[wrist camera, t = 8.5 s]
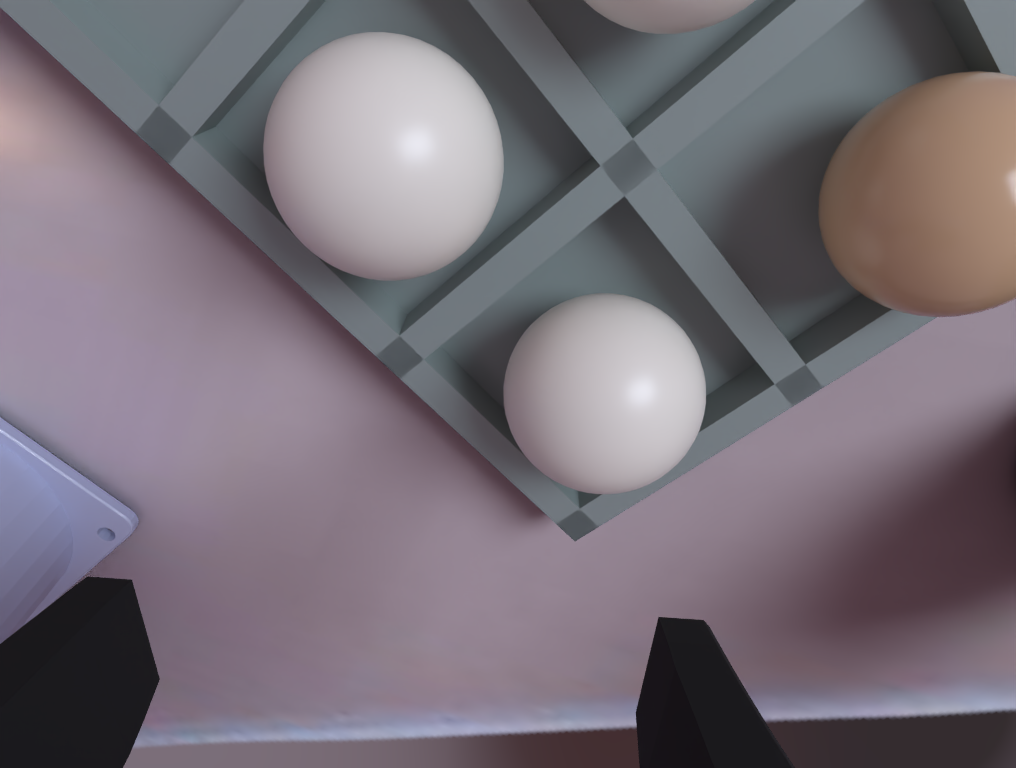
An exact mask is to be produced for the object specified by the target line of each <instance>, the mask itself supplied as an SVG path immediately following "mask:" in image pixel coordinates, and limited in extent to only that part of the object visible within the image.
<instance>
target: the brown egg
mask: <svg viewBox="0 0 1016 768" xmlns="http://www.w3.org/2000/svg"><path fill="white" fill-rule="evenodd" d="M818 218H819V227H820V232H821V236H822V240H823V243H824V246H825V249H826V251H827V253H828V255H829V258H830V259H831V261H832V263H833V264H834V266H835V267H836V269H837V270H838V272H839V273H840V274H841V275H842V276H843V277H844V279H845V280H846V281H847V282H848V283H849V284H850V285H851V286H852V287H853V288H855V289H856V290H857V291H859V292H860V293H861V294H863V295H864V296H866V297H867V298H869V299H870V300H872V301H874V302H876V303H878V304H880V305H882V306H885V307H887V308H890V309H893V310H896V311H899V312H903V313H907V314H912V315H917V316H928V317H953V316H961V315H967V314H973V313H978V312H982V311H985V310H988V309H992V308H995V307H998V306H1000V305H1003V304H1005V303H1007V302H1009V301H1012V300H1014V299H1016V76H1013V75H1008V74H1004V73H996V72H982V71H972V72H959V73H952V74H947V75H942V76H937V77H933V78H931V79H928V80H925V81H922V82H919V83H916V84H913V85H911V86H909V87H907V88H905V89H903V90H901V91H899V92H897V93H895V94H893V95H891V96H889V97H888V98H887V99H885V100H884V101H882V102H881V103H879V104H878V105H877V106H875V107H874V108H872V109H871V110H870V111H869V112H868V113H866V114H865V115H864V116H863V117H862V118H861V119H860V120H859V121H858V122H857V123H856V124H855V125H854V126H853V127H852V129H851V130H850V131H849V132H848V133H847V134H846V136H845V137H844V138H843V140H842V141H841V143H840V144H839V146H838V147H837V149H836V151H835V152H834V154H833V156H832V158H831V160H830V162H829V164H828V167H827V169H826V172H825V175H824V178H823V181H822V185H821V189H820V194H819V204H818Z"/></svg>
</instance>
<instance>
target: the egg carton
mask: <svg viewBox="0 0 1016 768" xmlns="http://www.w3.org/2000/svg"><path fill="white" fill-rule="evenodd" d="M0 8H1V9H3V10H4V11H5V12H6V13H7V14H8V15H9V16H10V17H11V18H12V19H13V20H14V21H15V22H17V23H18V24H19V25H20V26H21V27H22V28H23V29H24V30H25V31H26V32H27V33H28V34H29V35H31V36H32V37H33V38H34V39H35V40H36V41H37V42H38V43H39V44H40V45H41V46H42V47H43V48H45V49H46V50H47V51H48V52H49V53H50V54H51V55H52V56H53V57H54V58H55V59H56V60H57V61H59V62H60V63H61V64H62V65H63V66H64V67H65V68H66V69H67V70H68V71H69V72H70V73H71V74H72V75H74V76H75V77H76V78H77V79H78V80H79V81H80V82H81V83H82V84H83V85H84V86H85V87H86V88H88V89H89V90H90V91H91V92H92V93H93V94H94V95H95V96H96V97H97V98H98V99H99V100H100V101H102V102H103V103H104V104H105V105H106V106H107V107H108V108H109V109H110V110H111V111H112V112H113V113H114V114H116V115H117V116H118V117H119V118H120V119H121V120H122V121H123V122H124V123H125V124H126V125H127V126H128V127H130V128H131V129H132V130H133V131H134V132H135V133H136V134H137V135H138V136H139V137H140V138H141V139H142V140H144V141H145V142H146V143H147V144H148V145H149V146H150V147H151V148H152V149H153V150H154V151H155V152H156V153H158V154H159V155H160V156H161V157H162V158H163V159H164V160H165V161H166V162H167V163H168V164H169V165H170V166H172V167H173V168H174V169H175V170H176V171H177V172H178V173H179V174H180V175H181V176H182V177H183V178H184V179H186V180H187V181H188V182H189V183H190V184H191V185H192V186H193V187H194V188H195V189H196V190H197V191H198V192H199V193H201V194H202V195H203V196H204V197H205V198H206V199H207V200H208V201H209V202H210V203H211V204H212V205H213V206H215V207H216V208H217V209H218V210H219V211H220V212H221V213H222V214H223V215H224V216H225V217H226V218H227V219H229V220H230V221H231V222H232V223H233V224H234V225H235V226H236V227H237V228H238V229H239V230H240V231H241V232H243V233H244V234H245V235H246V236H247V237H248V238H249V239H250V240H251V241H252V242H253V243H254V244H255V245H257V246H258V247H259V248H260V249H261V250H262V251H263V252H264V253H265V254H266V255H267V256H268V257H269V258H271V259H272V260H273V261H274V262H275V263H276V264H277V265H278V266H279V267H280V268H281V269H282V270H283V271H285V272H286V273H287V274H288V275H289V276H290V277H291V278H292V279H293V280H294V281H295V282H296V283H297V284H299V285H300V286H301V287H302V288H303V289H304V290H305V291H306V292H307V293H308V294H309V295H310V296H311V297H312V298H314V299H315V300H316V301H317V302H318V303H319V304H320V305H321V306H322V307H323V308H324V309H325V310H326V311H328V312H329V313H330V314H331V315H332V316H333V317H334V318H335V319H336V320H337V321H338V322H339V323H340V324H342V325H343V326H344V327H345V328H346V329H347V330H348V331H349V332H350V333H351V334H352V335H353V336H354V337H356V338H357V339H358V340H359V341H360V342H361V343H362V344H363V345H364V346H365V347H366V348H367V349H368V350H370V351H371V352H372V353H373V354H374V355H375V356H376V357H377V358H378V359H379V360H380V361H381V362H382V363H384V364H385V365H386V366H387V367H388V368H389V369H390V370H391V371H392V372H393V373H394V374H395V375H396V376H398V377H399V378H400V379H401V380H402V381H403V382H404V383H405V384H406V385H407V386H408V387H409V388H410V389H412V390H413V391H414V392H415V393H416V394H417V395H418V396H419V397H420V398H421V399H422V400H423V401H424V402H425V403H427V404H428V405H429V406H430V407H431V408H432V409H433V410H434V411H435V412H436V413H437V414H438V415H439V416H441V417H442V418H443V419H444V420H445V421H446V422H447V423H448V424H449V425H450V426H451V427H452V428H453V429H455V430H456V431H457V432H458V433H459V434H460V435H461V436H462V437H463V438H464V439H465V440H466V441H467V442H469V443H470V444H471V445H472V446H473V447H474V448H475V449H476V450H477V451H478V452H479V453H480V454H481V455H483V456H484V457H485V458H486V459H487V460H488V461H489V462H490V463H491V464H492V465H493V466H494V467H495V468H497V469H498V470H499V471H500V472H501V473H502V474H503V475H504V476H505V477H506V478H507V479H508V480H509V481H511V482H512V483H513V484H514V485H515V486H516V487H517V488H518V489H519V490H520V491H521V492H522V493H523V494H525V495H526V496H527V497H528V498H529V499H530V500H531V501H532V502H533V503H534V504H535V505H536V506H537V507H539V508H540V509H541V510H542V511H543V512H544V513H545V514H546V515H547V516H548V517H549V518H550V519H551V520H552V521H554V522H555V523H556V524H557V525H558V526H559V527H560V528H561V529H562V530H563V531H564V532H565V533H566V534H568V535H569V536H570V537H571V538H572V539H573V540H574V541H576V540H578V539H580V538H581V537H583V536H585V535H586V534H588V533H589V532H591V531H593V530H594V529H596V528H597V527H599V526H601V525H602V524H604V523H606V522H607V521H609V520H610V519H612V518H614V517H615V516H617V515H618V514H620V513H622V512H623V511H625V510H626V509H628V508H630V507H631V506H633V505H635V504H636V503H638V502H639V501H641V500H643V499H644V498H646V497H647V496H649V495H651V494H652V493H654V492H656V491H657V490H659V489H660V488H662V487H664V486H665V485H667V484H668V483H670V482H672V481H673V480H675V479H677V478H678V477H680V476H681V475H683V474H685V473H686V472H688V471H689V470H691V469H693V468H694V467H696V466H698V465H699V464H701V463H702V462H704V461H706V460H707V459H709V458H710V457H712V456H714V455H715V454H717V453H718V452H720V451H722V450H723V449H725V448H727V447H728V446H730V445H731V444H733V443H735V442H736V441H738V440H739V439H741V438H743V437H744V436H746V435H748V434H749V433H751V432H752V431H754V430H756V429H757V428H759V427H760V426H762V425H764V424H765V423H767V422H769V421H770V420H772V419H773V418H775V417H777V416H778V415H780V414H781V413H783V412H785V411H786V410H788V409H789V408H791V407H793V406H794V405H796V404H798V403H799V402H801V401H802V400H804V399H806V398H807V397H809V396H810V395H812V394H814V393H815V392H817V391H819V390H820V389H822V388H823V387H825V386H827V385H828V384H830V383H831V382H833V381H835V380H836V379H838V378H840V377H841V376H843V375H844V374H846V373H848V372H849V371H851V370H852V369H854V368H856V367H857V366H859V365H861V364H862V363H864V362H865V361H867V360H869V359H870V358H872V357H873V356H875V355H877V354H878V353H880V352H881V351H883V350H885V349H886V348H888V347H890V346H891V345H893V344H894V343H896V342H898V341H899V340H901V339H902V338H904V337H906V336H907V335H909V334H911V333H912V332H914V331H915V330H917V329H919V328H920V327H922V326H923V325H925V324H927V323H928V322H930V321H932V320H933V319H935V318H936V317H928V316H917V315H912V314H907V313H903V312H899V311H896V310H893V309H890V308H887V307H885V306H882V305H880V304H878V303H876V302H874V301H872V300H870V299H869V298H867V297H866V296H864V295H863V294H861V293H860V292H859V291H857V290H856V289H855V288H853V287H852V286H851V285H850V284H849V283H848V282H847V281H846V280H845V279H844V277H843V276H842V275H841V274H840V273H839V272H838V270H837V269H836V267H835V266H834V264H833V263H832V261H831V259H830V258H829V255H828V253H827V251H826V249H825V246H824V243H823V240H822V236H821V232H820V227H819V218H818V204H819V194H820V189H821V185H822V181H823V178H824V175H825V172H826V169H827V167H828V164H829V162H830V160H831V158H832V156H833V154H834V152H835V151H836V149H837V147H838V146H839V144H840V143H841V141H842V140H843V138H844V137H845V136H846V134H847V133H848V132H849V131H850V130H851V129H852V127H853V126H854V125H855V124H856V123H857V122H858V121H859V120H860V119H861V118H862V117H863V116H864V115H865V114H866V113H868V112H869V111H870V110H871V109H872V108H874V107H875V106H877V105H878V104H879V103H881V102H882V101H884V100H885V99H887V98H888V97H889V96H891V95H893V94H895V93H897V92H899V91H901V90H903V89H905V88H907V87H909V86H911V85H913V84H916V83H919V82H922V81H925V80H928V79H931V78H933V77H937V76H942V75H947V74H952V73H959V72H972V71H982V72H996V73H1004V74H1008V75H1013V76H1016V0H0Z"/></svg>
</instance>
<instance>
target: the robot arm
mask: <svg viewBox="0 0 1016 768" xmlns="http://www.w3.org/2000/svg"><path fill="white" fill-rule="evenodd" d="M137 526H138V518H137V516H136V514H135V513H134V512H133V511H132V510H131V509H130V508H128V507H127V506H125V505H124V504H122V503H121V502H120V501H118V500H117V499H115V498H114V497H113V496H111V495H110V494H108V493H107V492H105V491H104V490H103V489H101V488H100V487H98V486H97V485H96V484H94V483H93V482H91V481H90V480H88V479H87V478H86V477H84V476H83V475H81V474H80V473H79V472H77V471H76V470H74V469H73V468H71V467H70V466H69V465H67V464H66V463H64V462H63V461H62V460H60V459H59V458H57V457H56V456H54V455H53V454H52V453H50V452H49V451H47V450H46V449H45V448H43V447H42V446H40V445H39V444H37V443H36V442H35V441H33V440H32V439H30V438H29V437H28V436H26V435H25V434H23V433H22V432H20V431H19V430H18V429H16V428H15V427H13V426H12V425H11V424H9V423H8V422H6V421H5V420H3V419H2V418H1V417H0V768H123V766H124V764H125V762H126V760H127V758H128V757H129V754H130V752H131V750H132V747H133V745H134V743H135V740H136V738H137V735H138V733H139V731H140V728H141V726H142V723H143V721H144V719H145V716H146V713H147V711H148V708H149V706H150V703H151V700H152V698H153V695H154V693H155V690H156V687H157V685H158V682H159V680H160V679H159V675H158V672H157V668H156V664H155V661H154V657H153V654H152V650H151V647H150V643H149V639H148V636H147V632H146V629H145V625H144V622H143V618H142V614H141V611H140V607H139V604H138V600H137V596H136V593H135V589H134V586H133V582H132V580H127V579H113V578H99V577H86V578H85V579H84V580H82V581H81V582H80V583H78V584H77V585H76V586H74V587H73V588H72V589H70V590H69V591H68V592H66V591H67V590H68V589H69V588H70V587H72V586H73V585H74V584H75V583H76V582H77V581H79V580H80V579H81V578H82V577H83V576H84V575H85V574H87V573H88V572H89V571H90V570H91V569H92V568H93V567H95V566H96V565H97V564H98V563H99V562H100V561H102V560H103V559H104V558H105V557H106V556H107V555H108V554H110V553H111V552H112V551H113V550H114V549H115V548H116V547H118V546H119V545H120V544H121V543H122V542H123V541H125V540H126V539H127V538H128V537H129V536H130V535H131V534H132V533H133V531H134V530H135V529H136V527H137ZM107 528H108V529H110V530H112V531H113V532H112V531H110V530H108V529H107ZM65 592H66V593H65ZM64 593H65V594H64ZM62 594H64V595H62ZM61 595H62V596H61ZM60 596H61V597H60ZM59 597H60V598H59ZM54 601H55V602H54ZM636 722H637V735H638V750H639V763H640V768H795V767H794V766H793V764H792V763H791V761H790V760H789V758H788V757H787V755H786V754H785V752H784V750H783V749H782V748H781V746H780V745H779V743H778V741H777V740H776V738H775V737H774V735H773V733H772V732H771V730H770V729H769V727H768V726H767V724H766V722H765V721H764V719H763V718H762V716H761V714H760V713H759V711H758V709H757V708H756V706H755V704H754V703H753V701H752V700H751V698H750V696H749V695H748V693H747V691H746V690H745V688H744V686H743V685H742V683H741V681H740V680H739V678H738V676H737V674H736V673H735V671H734V669H733V668H732V666H731V664H730V662H729V661H728V659H727V657H726V655H725V654H724V652H723V650H722V648H721V647H720V645H719V643H718V641H717V640H716V638H715V636H714V634H713V632H712V630H711V629H710V627H709V626H708V625H707V624H706V622H705V621H704V620H694V619H679V618H665V617H659V618H658V622H657V626H656V631H655V635H654V639H653V643H652V647H651V651H650V656H649V660H648V664H647V668H646V672H645V677H644V681H643V685H642V689H641V693H640V698H639V702H638V706H637V710H636Z"/></svg>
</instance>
